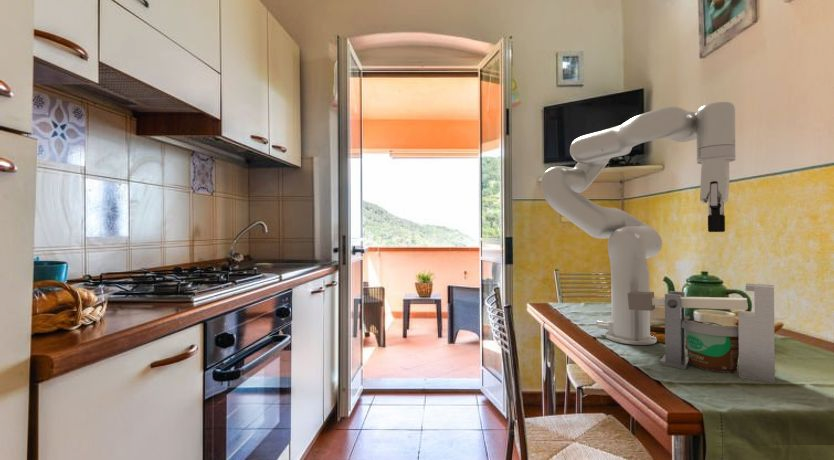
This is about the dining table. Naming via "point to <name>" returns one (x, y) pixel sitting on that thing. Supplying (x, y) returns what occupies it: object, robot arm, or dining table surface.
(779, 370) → the dining table surface
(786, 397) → the dining table surface
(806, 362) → the dining table surface
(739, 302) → the beige long bar
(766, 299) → the post
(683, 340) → the hinge post
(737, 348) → the food container
